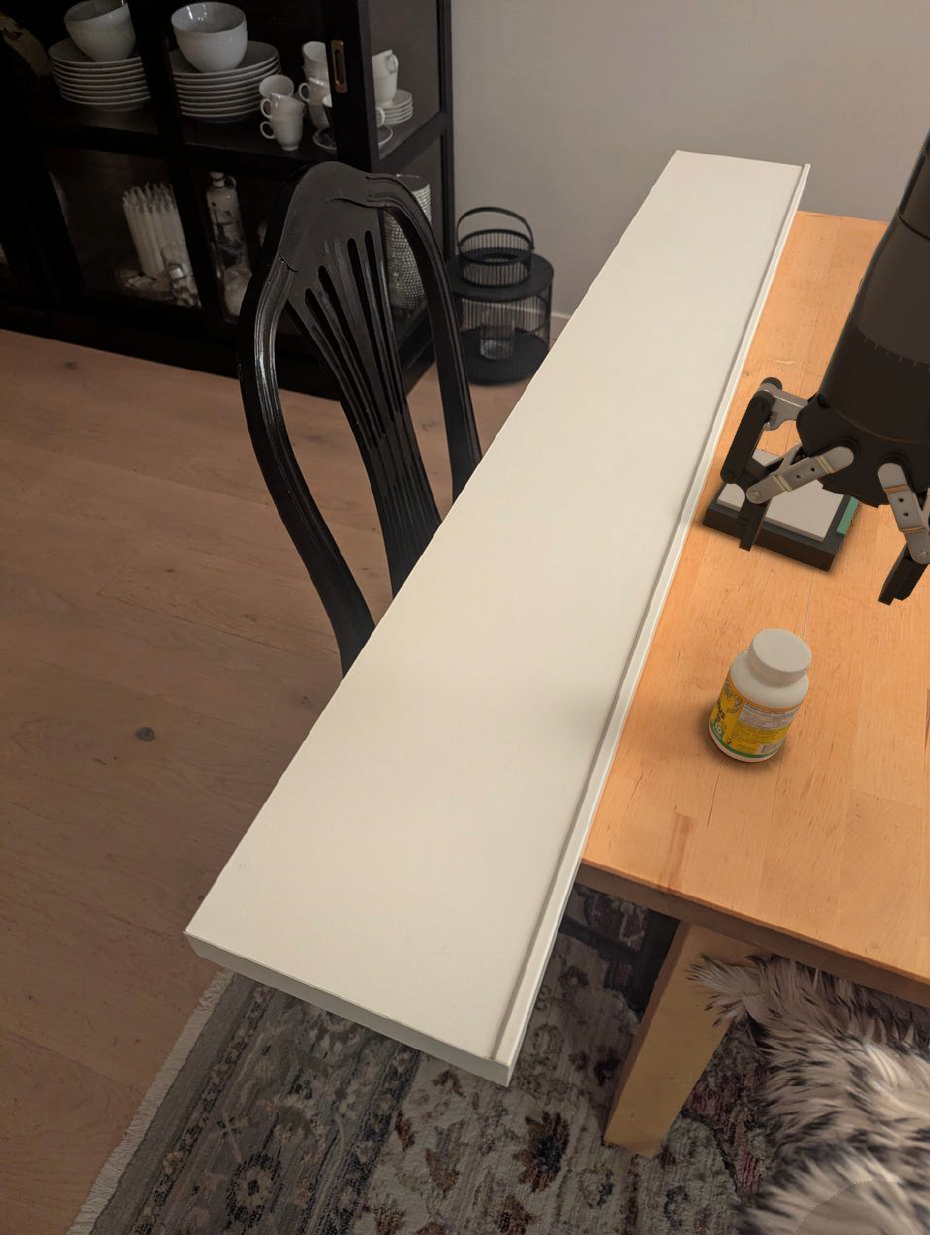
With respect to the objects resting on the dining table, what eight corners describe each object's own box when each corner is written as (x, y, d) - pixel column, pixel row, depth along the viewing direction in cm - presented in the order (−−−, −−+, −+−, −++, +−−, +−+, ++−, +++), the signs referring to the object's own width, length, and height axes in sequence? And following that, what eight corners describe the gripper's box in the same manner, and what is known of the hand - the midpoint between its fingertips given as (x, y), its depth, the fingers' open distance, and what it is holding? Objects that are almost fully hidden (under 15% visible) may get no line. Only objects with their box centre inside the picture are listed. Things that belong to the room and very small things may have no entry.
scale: (858, 501, 87) (868, 480, 85) (828, 571, 80) (838, 550, 78) (741, 460, 91) (748, 439, 89) (702, 524, 83) (708, 502, 82)
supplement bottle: (773, 774, 64) (818, 690, 57) (700, 749, 65) (735, 664, 58) (783, 719, 68) (826, 634, 61) (714, 697, 69) (748, 611, 62)
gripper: (766, 309, 42) (684, 560, 54) (1090, 405, 38) (924, 655, 49) (805, 254, 47) (722, 496, 58) (1098, 333, 42) (945, 577, 54)
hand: (815, 568), depth 54 cm, fingers open, 8 cm apart
